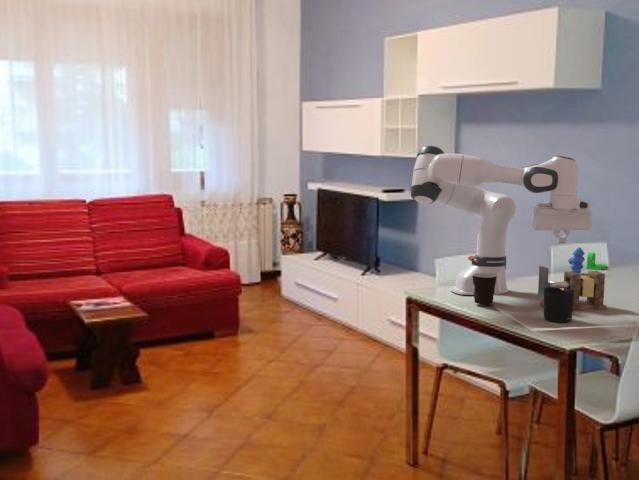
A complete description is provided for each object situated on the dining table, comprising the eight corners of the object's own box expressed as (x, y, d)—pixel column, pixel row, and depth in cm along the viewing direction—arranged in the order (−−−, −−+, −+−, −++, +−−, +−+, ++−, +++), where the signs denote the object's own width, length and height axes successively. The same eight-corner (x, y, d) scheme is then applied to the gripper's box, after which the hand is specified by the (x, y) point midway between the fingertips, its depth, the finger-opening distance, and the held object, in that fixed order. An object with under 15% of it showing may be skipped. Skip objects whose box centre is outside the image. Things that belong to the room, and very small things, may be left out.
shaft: (543, 298, 249) (545, 268, 247) (538, 295, 254) (539, 265, 252) (597, 296, 251) (599, 267, 250) (590, 293, 256) (592, 264, 255)
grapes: (571, 271, 323) (573, 245, 321) (587, 273, 319) (588, 246, 317) (562, 275, 314) (563, 248, 312) (578, 277, 310) (579, 249, 308)
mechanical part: (600, 271, 324) (601, 254, 323) (586, 270, 328) (587, 253, 327) (607, 268, 334) (608, 251, 333) (594, 266, 337) (595, 250, 336)
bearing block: (552, 310, 248) (553, 275, 246) (540, 304, 256) (542, 271, 255) (606, 309, 250) (608, 274, 249) (593, 303, 259) (595, 270, 257)
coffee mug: (491, 306, 254) (492, 278, 253) (467, 303, 259) (468, 275, 258) (501, 300, 264) (502, 273, 263) (479, 297, 269) (479, 271, 267)
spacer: (582, 297, 250) (583, 279, 249) (573, 293, 256) (574, 275, 255) (593, 296, 250) (594, 278, 249) (584, 293, 257) (585, 275, 256)
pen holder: (549, 323, 230) (551, 293, 228) (538, 316, 239) (539, 287, 238) (577, 323, 231) (579, 292, 229) (565, 316, 240) (566, 286, 239)
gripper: (538, 204, 243) (536, 244, 245) (595, 203, 246) (592, 243, 248) (530, 202, 249) (528, 242, 251) (585, 202, 252) (583, 241, 254)
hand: (561, 243), depth 250 cm, fingers closed
